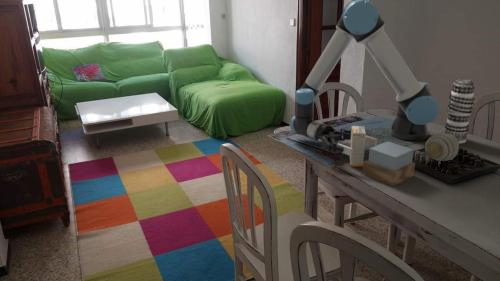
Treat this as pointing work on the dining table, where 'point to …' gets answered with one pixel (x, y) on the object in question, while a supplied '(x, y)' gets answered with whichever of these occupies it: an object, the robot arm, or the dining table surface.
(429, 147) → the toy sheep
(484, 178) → the dining table surface
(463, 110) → the decorative candle
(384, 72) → the robot arm
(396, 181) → the tower base block
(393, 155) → the tower top block
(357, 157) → the supplement box
